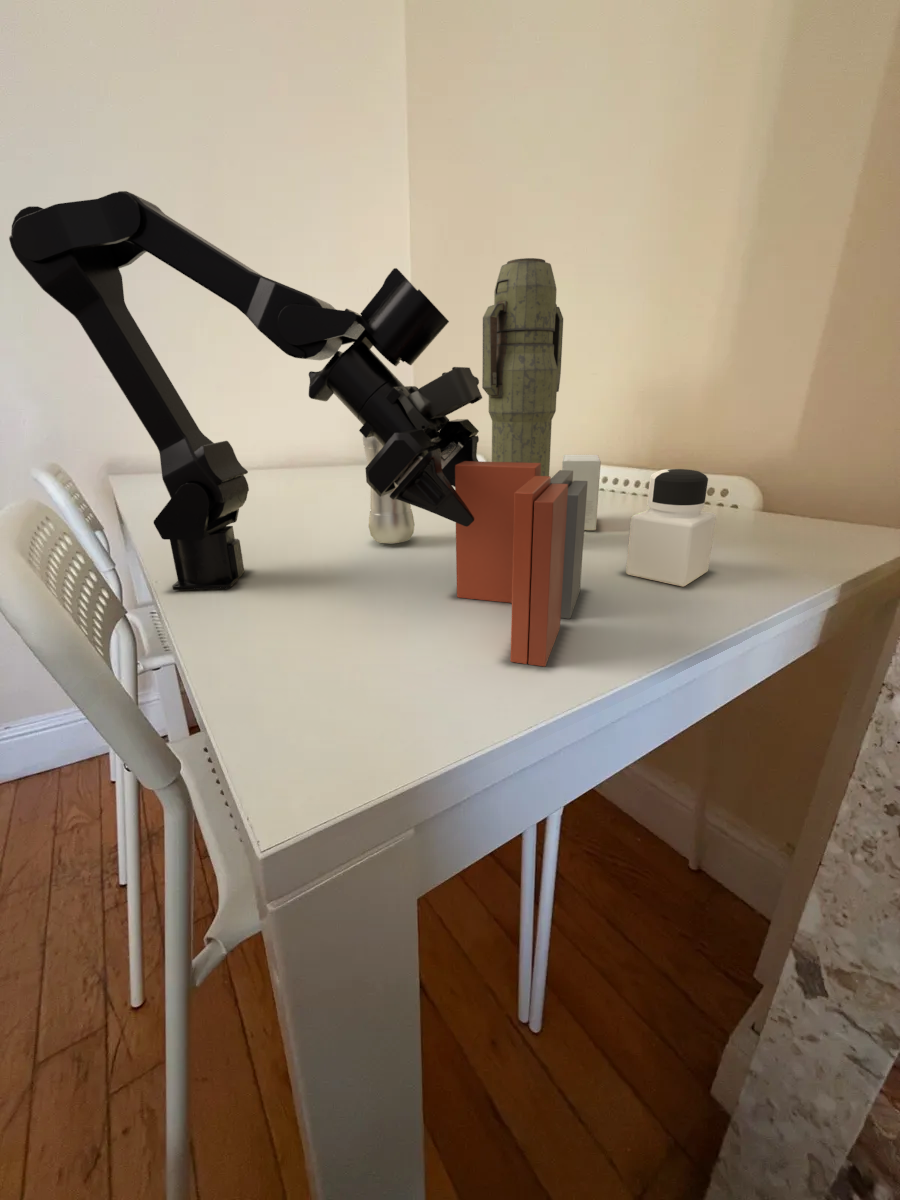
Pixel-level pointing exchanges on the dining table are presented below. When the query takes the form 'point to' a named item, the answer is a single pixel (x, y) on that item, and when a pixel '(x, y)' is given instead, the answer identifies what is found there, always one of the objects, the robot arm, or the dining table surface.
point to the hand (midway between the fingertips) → (484, 513)
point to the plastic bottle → (387, 508)
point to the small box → (587, 471)
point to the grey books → (572, 539)
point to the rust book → (488, 527)
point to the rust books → (537, 569)
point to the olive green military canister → (523, 361)
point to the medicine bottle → (672, 529)
